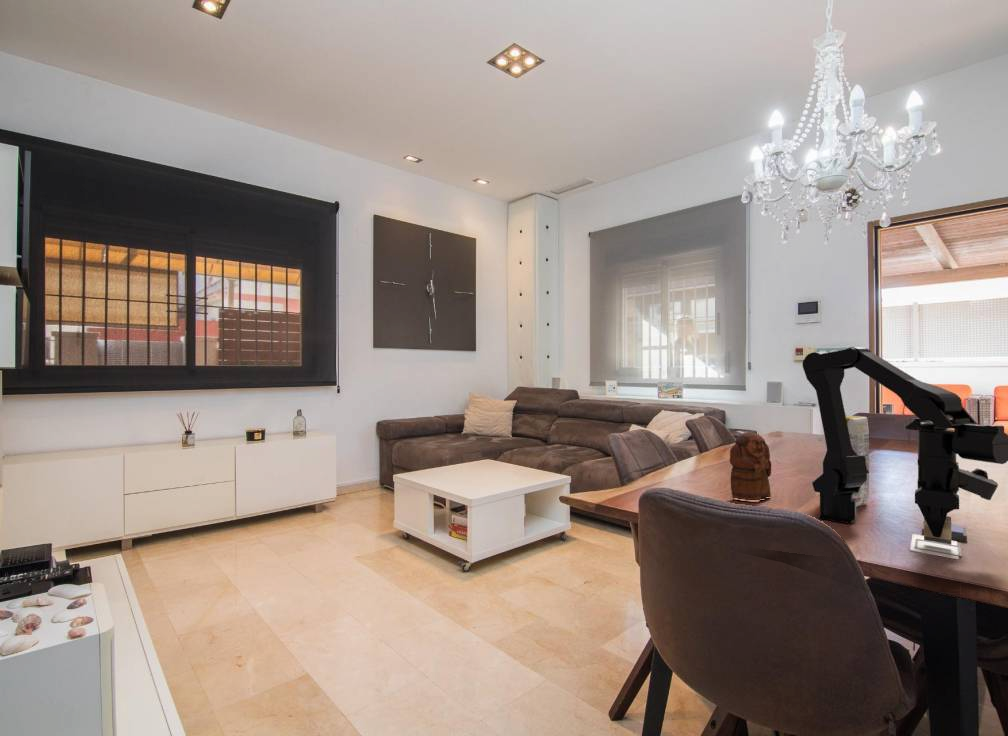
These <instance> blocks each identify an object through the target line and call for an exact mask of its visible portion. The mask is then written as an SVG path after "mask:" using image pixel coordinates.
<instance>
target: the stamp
mask: <svg viewBox="0 0 1008 736" xmlns="http://www.w3.org/2000/svg"><path fill="white" fill-rule="evenodd" d="M923 521H924V535H923V536H924V540H927V541H933V542H939V543H944V544H950V545H951V541H952V539H951V524H952V516H949V515H948V516H946V520H945V523H944V527H943V530H942V534H941V537H934V536H933V535H932V533H931V531H930V529H929V527H928V525H927V522H926V520H925V518H924V517H923Z"/></svg>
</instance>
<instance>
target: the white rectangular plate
mask: <svg viewBox="0 0 1008 736" xmlns="http://www.w3.org/2000/svg"><path fill="white" fill-rule="evenodd" d="M909 551H910V552H911V551H912V552H916V553H922V554H928V555H932V556H939V557H943V558H949V559H954V560H959V559H960V558H961V557H962V550H961V546H959V545H958V540H951V545H950V544H944V543H939V542H933V541H927V540H924V535H922V534H915V533H912V537H911V542H910V549H909Z"/></svg>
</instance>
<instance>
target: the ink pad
mask: <svg viewBox="0 0 1008 736" xmlns="http://www.w3.org/2000/svg"><path fill="white" fill-rule="evenodd" d="M921 525H922V527H921V536H924V520H923V521H922V524H921ZM951 541H957V542H958V541H959V542H964V543H966V542H968V534H967V527H963V525H959V524H953V523H951Z"/></svg>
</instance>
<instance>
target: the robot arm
mask: <svg viewBox="0 0 1008 736" xmlns="http://www.w3.org/2000/svg"><path fill="white" fill-rule="evenodd" d="M853 368H855V369H856V370H858V371H860V372H862V373H863V374H864V375H866V376H868V377H869V378H870V379H872V380H874V381H875V382H877V383H878V384H880V385H881V386H882V387H885V388H886V389H887V390H889V391H890V392H892V393H894V394H895V395H896V396H897V397H898V398H900V400H901V402H902V403H903V405H904V406H905V408H906V409H908V410H909V411H910V412H911V413H912V414H913V415H914V416H916V417H917V418H914V420H912V421H911V422H910V423H909V424H907V425H905V429H906V430H911V431H917V488H916V489H915V491H914V504H916V505H917V506H918V508H919V510H920V512H921V514H922V516H923V519H924V518H925V520H926V522H927V525H928V527H929V529H930V531H931V533H932V535H933V536H934V537H941V534H942V530H943V527H944V523H945V520H946V516H947V515H948V514H949V513H950V512H952V511H954V510H960V495H959V494H958V492H960V489H961V490H964V491H966V492H969V493H972V494H974V495H976V496H979V497H980V498H981V499H984V500H986V501H987V500H988V501H991V500H992V497H993V496H994V495H995V493H996V490H997V489H998V488H999V484H998V482H997V481H995V480H994V479H991V478H989V475H988V472H987V471H986V470H983V469H981V468H978V467H977V468H975V469H973V470H971V471H970V470H965V469H962V468H960V467H959V466H960V465H959V461H957V455H958V457H960V458H961V459H962V460H970V461H978V462H985V463H991V464H998V465H1005V464H1006V463H1008V434H1007V433H1006V432H1005V427H1004V425H998V424H994V425H993V424H991V425H986V424H978V423H977V421H976V420H975V419H974V418H973V417H972V416H971V414H970V413H969V412H968V411H967V410H966V409H965V407H964V406H963V403H962V401H963V400H962V398H961V397H960V396H959V395H958V394H957V393H955V392H953V391H949V390H947V389H945V388H942V387H940V386H937V385H933V384H931V383H927V382H924V381H921V380H919V379H917V378H916V377H913V376H912V375H910V374H908V373H906V372H905V371H903V370H902V369H900V368H899V367H897V366H895V365H894V364H891V363H890V362H889V361H887V360H885V359H883V358H882V357H880V356H879V355H877V354H875V353H874V352H872V351H871V349H869V348H867V347H861V346H860V347H853V346H852V347H848V348H845V349H841V350H837V351H836V350H834V351H830V352H829V351H828V352H827V351H825V352H821V351H818V352H817V351H816V352H815V351H814V352H810V353H808V354H807V355H806V356H805V358H804V359H803V360H802V369H803V372H804V374H805V377H806V380H807V381H808V383H809V384H811V386H812V388H814V390H815V393H816V398H817V403H818V408H819V413H820V421H821V424H822V425H821V426H822V429H823V435H824V442H825V441H826V446H827V452H826V455H825V454H824V458H823V461H822V474H821V475H820V476H819V477H816V479H815V480H813V481H812V483H811V484H812V487H813V491H814V492H815V493H819V515H817V518H818V519H820V520H826V521H832V522H838V523H843V524H845V523H846V524H849V525H851V524H853V522H854V521H855V520H856V519H857V507H856V500H853V493H858V492H859V490H860V488H861V485H863V484H864V483H865V482H866V480H867V474H868V473H869V474H870V470H869V471H868V470H867V467H866V459H865V456H864V455H861V456H858V455H857V454H856V453H855V451H854V450H853V449H852V446H851V441H850V436H849V431H848V426H847V421H846V416H845V412H846V411H845V406H844V401H843V398H842V397H843V395H842V392H841V385H842V383H843V380H844V378H845V370H848V369H853Z"/></svg>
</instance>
